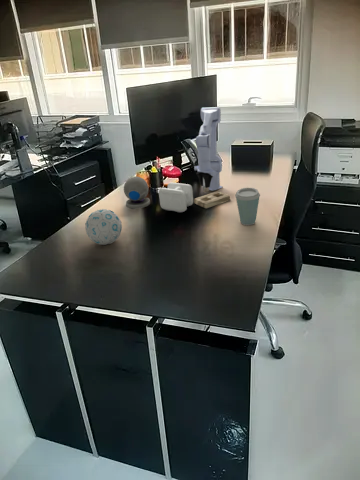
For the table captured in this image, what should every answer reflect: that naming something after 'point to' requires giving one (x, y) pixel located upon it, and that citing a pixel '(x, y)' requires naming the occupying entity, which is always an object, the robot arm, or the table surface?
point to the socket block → (212, 199)
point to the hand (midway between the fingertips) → (205, 186)
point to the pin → (205, 187)
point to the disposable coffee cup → (247, 205)
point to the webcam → (136, 192)
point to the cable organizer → (176, 197)
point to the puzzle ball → (103, 226)
